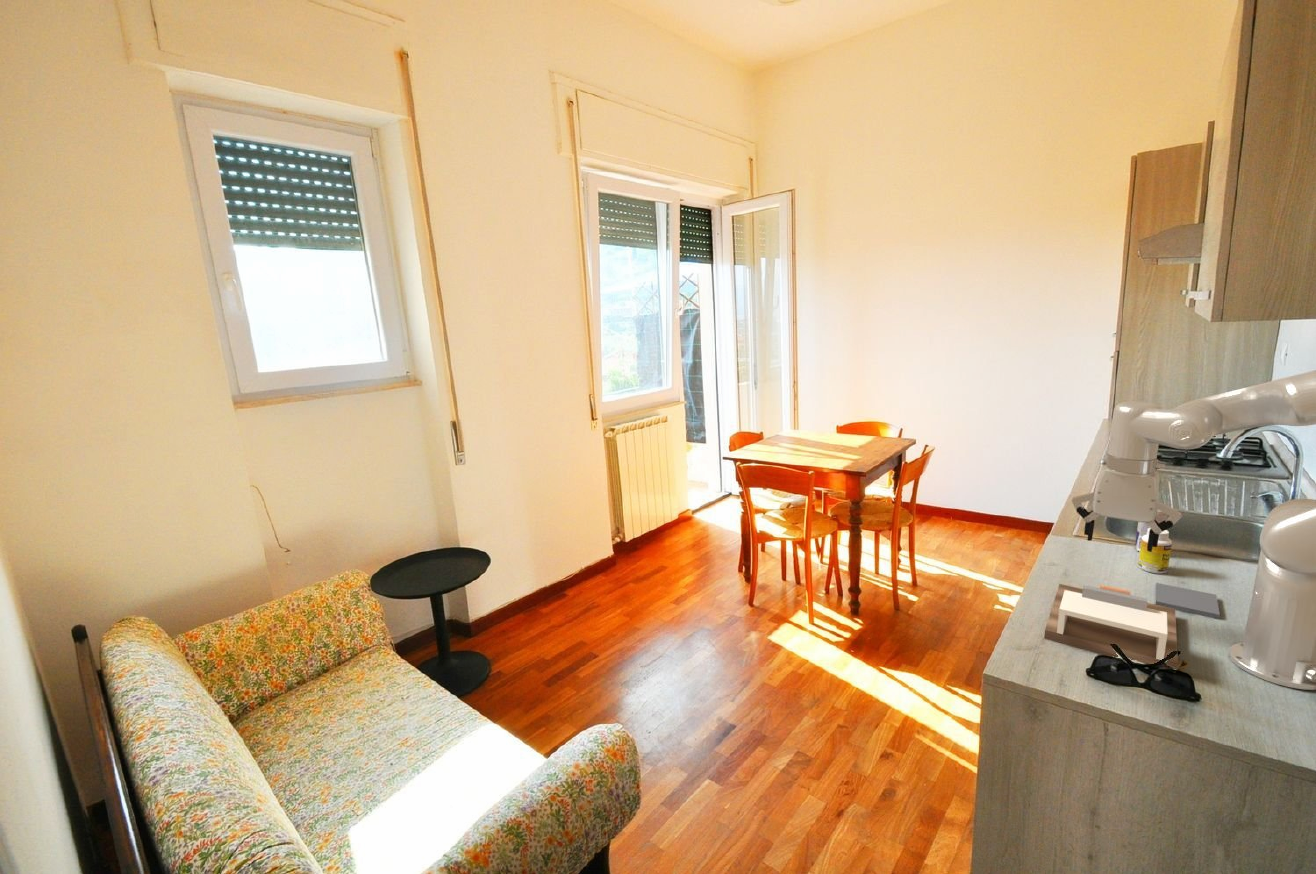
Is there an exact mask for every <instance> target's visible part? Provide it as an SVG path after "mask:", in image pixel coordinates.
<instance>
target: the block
mask: <svg viewBox="0 0 1316 874" xmlns="http://www.w3.org/2000/svg"><path fill="white" fill-rule="evenodd" d="M1099 588H1100V589H1105V590H1110V591H1114V592H1119V593H1124V594H1128V595H1131V590H1128V589H1122V588H1118V587H1114V586H1113V587H1112V586H1108V585H1103V584H1100V587H1099Z"/></svg>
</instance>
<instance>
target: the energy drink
mask: <svg viewBox="0 0 1316 874" xmlns="http://www.w3.org/2000/svg"><path fill="white" fill-rule="evenodd" d="M1166 519H1168V515H1167V514H1165V513H1164V512H1162V511H1160V510H1158V511H1157V516H1156V520H1157V521H1158V522H1159V523H1160V522H1162V521H1164V520H1166ZM1148 528H1150V527H1149V526H1148V525H1147V523H1142V522H1137V529H1136V536H1135V537H1136V538H1135V544H1134V545H1135V546H1134V549H1135V551H1136V552H1137V551H1139V552H1140V548H1141V541H1142V537H1143V536H1144V535H1146V534H1147V530H1148ZM1139 552H1138V553H1139Z"/></svg>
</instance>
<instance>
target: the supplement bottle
mask: <svg viewBox="0 0 1316 874" xmlns="http://www.w3.org/2000/svg"><path fill="white" fill-rule="evenodd" d="M1150 529H1151V528H1148V530H1147V534H1146V535H1144V536H1143V537H1142V541H1141V548H1140V553H1139V557H1138V562H1137V564H1138V565H1137V566H1138V568H1140V569H1141V570H1142V571H1145V572H1147V573H1153V574H1166V573H1167V572H1168V570H1169V565H1170V558H1171V552H1172V546H1173V540H1171V539H1170V538H1169V537H1170V536H1169V535H1170V532H1169V530H1168V529H1167V530H1165V531H1163V532H1161V533H1160V534H1159V538H1158V544H1157V547H1152V552H1148V551H1147V544H1148V538H1149V531H1150Z"/></svg>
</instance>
